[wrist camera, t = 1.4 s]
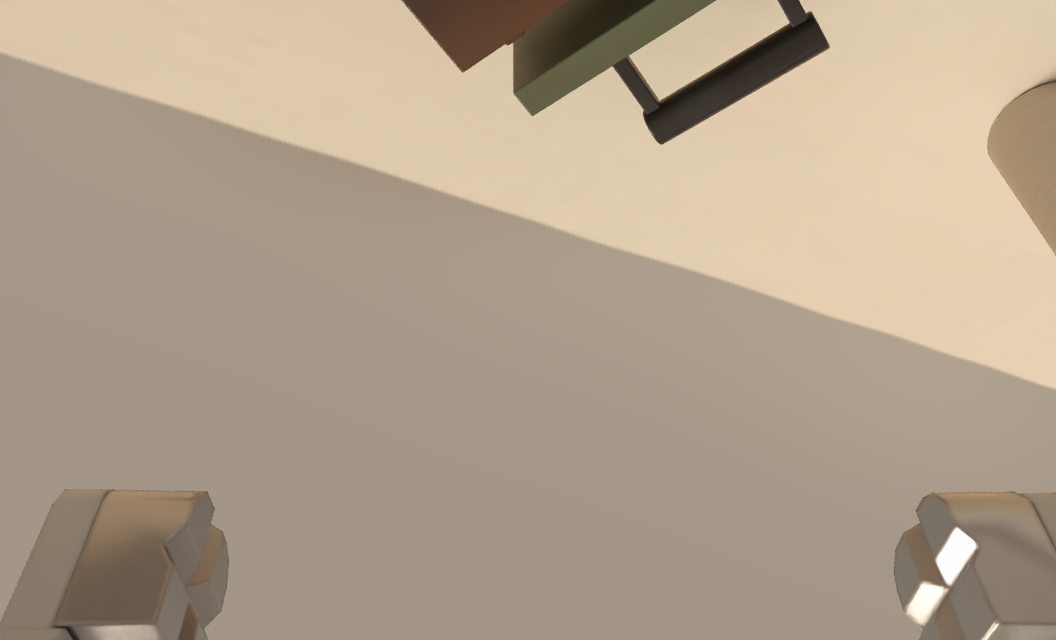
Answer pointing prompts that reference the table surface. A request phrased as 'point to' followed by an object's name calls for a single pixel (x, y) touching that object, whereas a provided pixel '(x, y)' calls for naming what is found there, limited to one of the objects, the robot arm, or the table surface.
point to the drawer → (632, 22)
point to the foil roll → (1029, 155)
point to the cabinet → (477, 24)
